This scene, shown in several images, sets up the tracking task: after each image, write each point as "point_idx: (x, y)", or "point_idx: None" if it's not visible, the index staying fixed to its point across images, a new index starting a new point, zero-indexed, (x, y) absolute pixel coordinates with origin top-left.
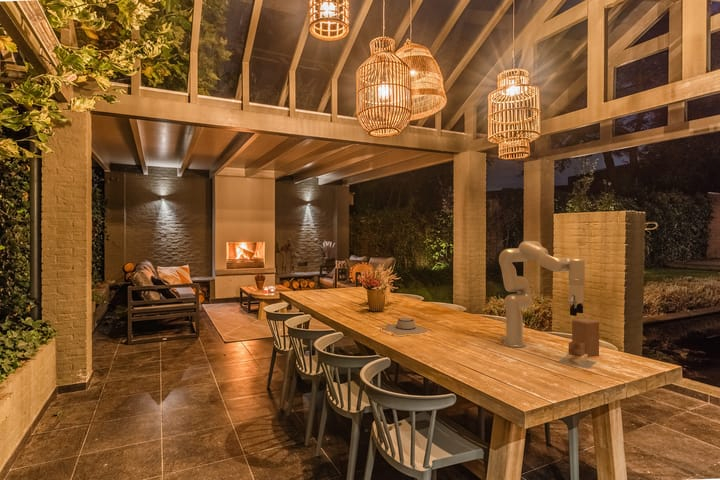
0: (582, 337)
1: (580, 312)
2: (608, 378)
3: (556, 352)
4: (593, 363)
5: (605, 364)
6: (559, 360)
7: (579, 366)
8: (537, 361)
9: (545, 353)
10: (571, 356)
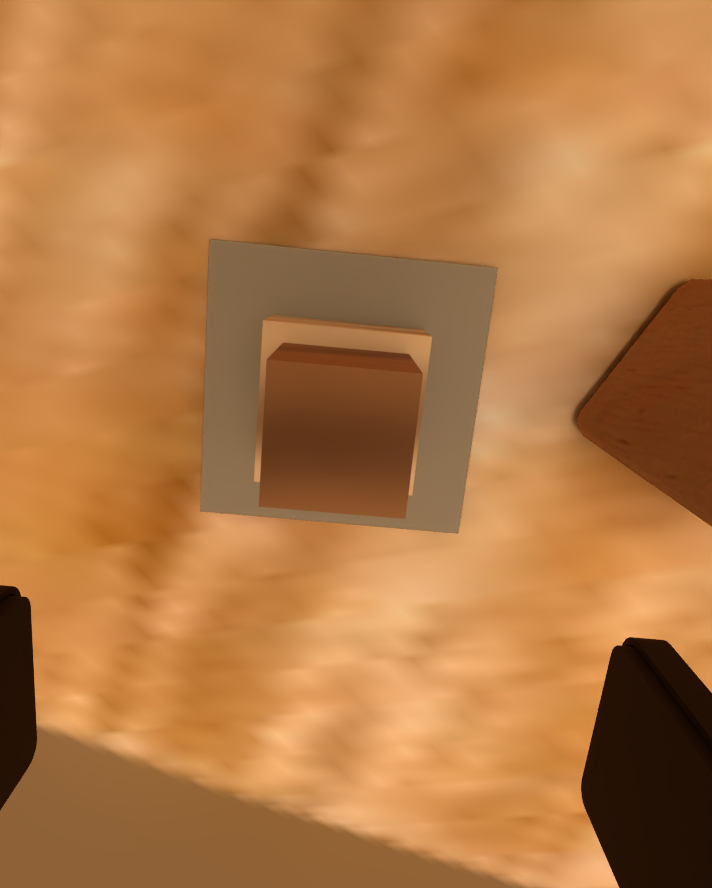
0: (687, 446)
1: (598, 760)
2: (100, 652)
3: (639, 125)
4: (387, 519)
5: (469, 584)
6: (282, 248)
7: (211, 443)
8: (148, 47)
9: (524, 27)
10: (262, 374)
